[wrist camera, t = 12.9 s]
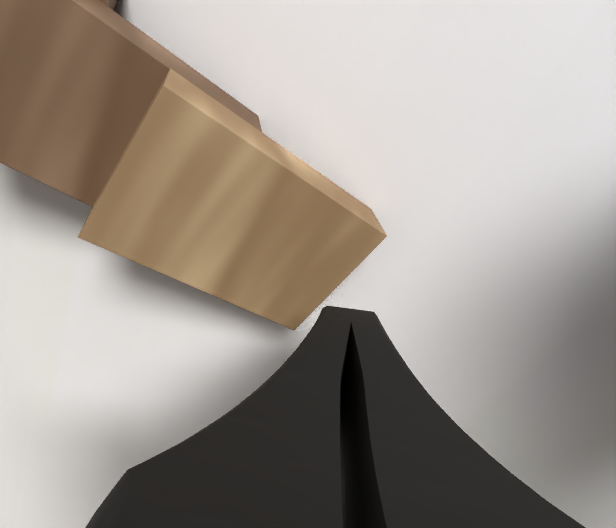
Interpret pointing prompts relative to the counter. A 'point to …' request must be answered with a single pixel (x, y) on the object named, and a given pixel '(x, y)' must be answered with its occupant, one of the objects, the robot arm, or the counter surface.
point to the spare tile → (229, 210)
